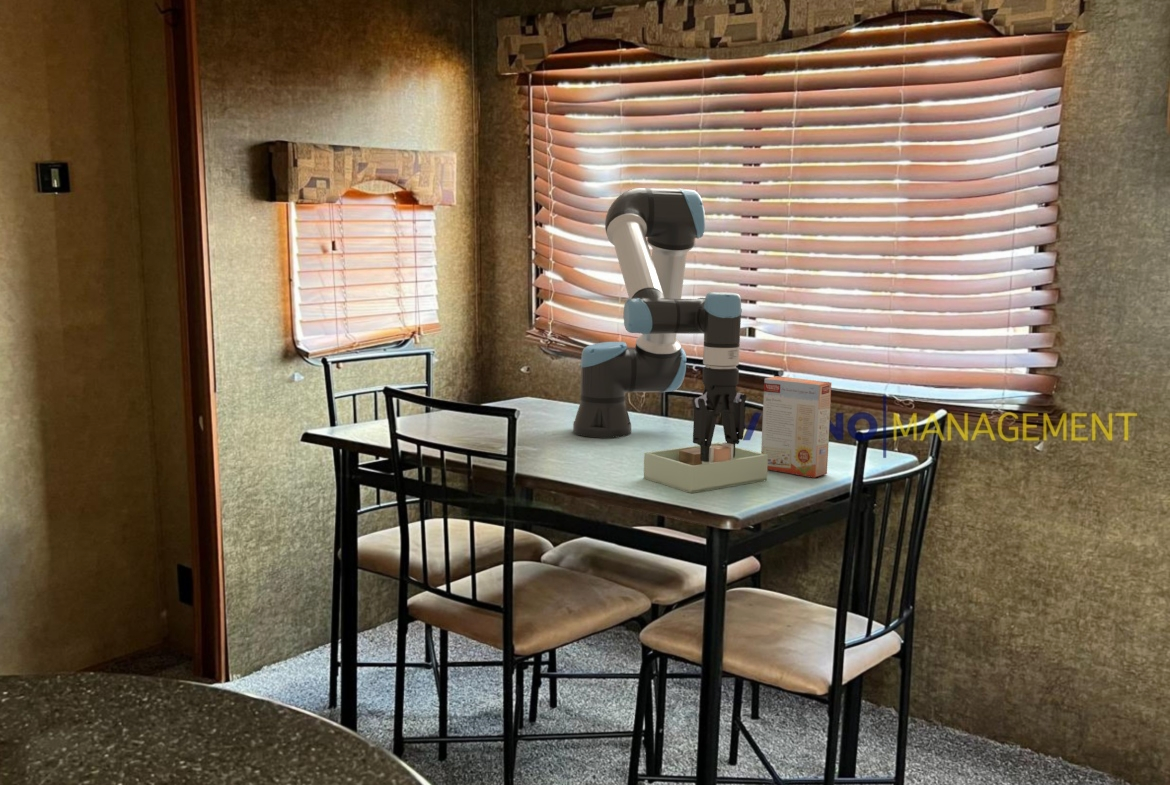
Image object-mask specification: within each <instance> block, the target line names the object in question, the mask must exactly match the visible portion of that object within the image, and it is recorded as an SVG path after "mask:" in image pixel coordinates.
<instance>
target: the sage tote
mask: <svg viewBox="0 0 1170 785" xmlns="http://www.w3.org/2000/svg"><path fill="white" fill-rule="evenodd" d="M722 443H723V442H713V443H711V446H722ZM692 448H699V449H701V447H700V445H698V444H696V445H691V446H690V445H689V446H684V447H682V446H681V447H676V448H670V449H662V450H654V451H649V452H648V451H647V452H643V454H644V455H643V457H644V458H643V479H645V480H648V481H650V482H654V483H658V484H660V485H664V486H667V487H670V488H673V489H676V490H680V491H682V492H686V493H689V494H695V493H702V492H703V493H704V492H710V491H713V490H720V489H724V487H726V488H730V487H729V486H732V487H736V485H737V486H741V485H748V484H753V483H754V482H755V483H759V482H760V483H761V482H764V480H765V482H766V481H768V470H767V465H768V455H766V454H762V453H761V452H758V451H753V450H750V449H747V448H742V447H739V446H735V457H734V458H733V459H732V460H726V461H719V462H713V463H706V464H700V465H689V464H686V463H682V462H679V450H685V449H692ZM755 483H754V484H755ZM719 488H720V489H719Z"/></svg>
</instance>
